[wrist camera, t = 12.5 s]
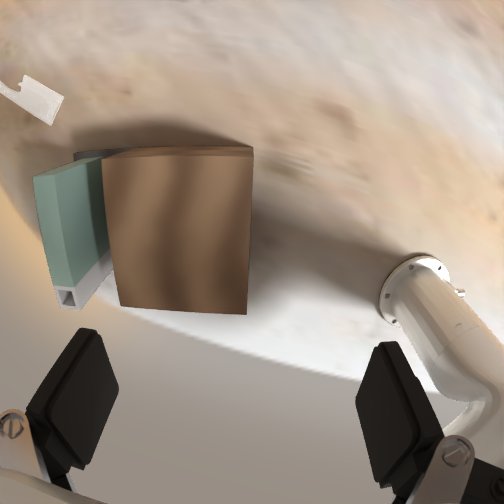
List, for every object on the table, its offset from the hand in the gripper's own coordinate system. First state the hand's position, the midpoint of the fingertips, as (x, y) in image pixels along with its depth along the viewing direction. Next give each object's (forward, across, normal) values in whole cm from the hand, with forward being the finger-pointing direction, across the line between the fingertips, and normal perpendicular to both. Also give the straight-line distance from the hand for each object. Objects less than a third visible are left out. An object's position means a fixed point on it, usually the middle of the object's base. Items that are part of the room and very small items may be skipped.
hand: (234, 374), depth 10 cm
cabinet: (+29, +12, +3) cm, 31 cm away
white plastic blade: (+29, +32, -16) cm, 46 cm away
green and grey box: (+28, +20, +3) cm, 34 cm away
